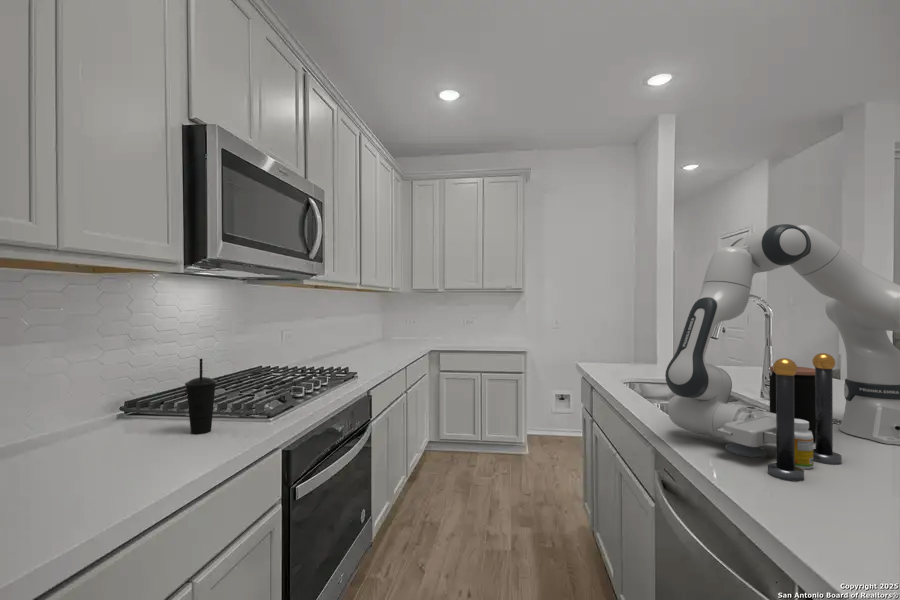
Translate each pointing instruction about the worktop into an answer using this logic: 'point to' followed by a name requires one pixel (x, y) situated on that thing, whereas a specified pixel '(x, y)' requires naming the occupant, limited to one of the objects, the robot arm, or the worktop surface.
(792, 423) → the post
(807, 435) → the supplement bottle
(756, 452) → the slate mat
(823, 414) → the post
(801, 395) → the coffee jar
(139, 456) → the worktop surface
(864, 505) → the worktop surface
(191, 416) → the drinking cup
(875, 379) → the robot arm
